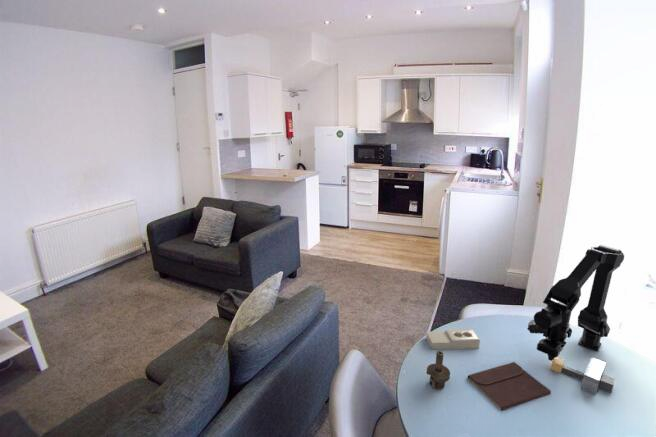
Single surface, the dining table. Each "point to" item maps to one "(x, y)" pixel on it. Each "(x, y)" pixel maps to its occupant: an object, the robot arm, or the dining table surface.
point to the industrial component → (438, 372)
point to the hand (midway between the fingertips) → (550, 359)
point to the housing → (593, 375)
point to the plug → (582, 374)
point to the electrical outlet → (453, 339)
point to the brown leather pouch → (508, 385)
